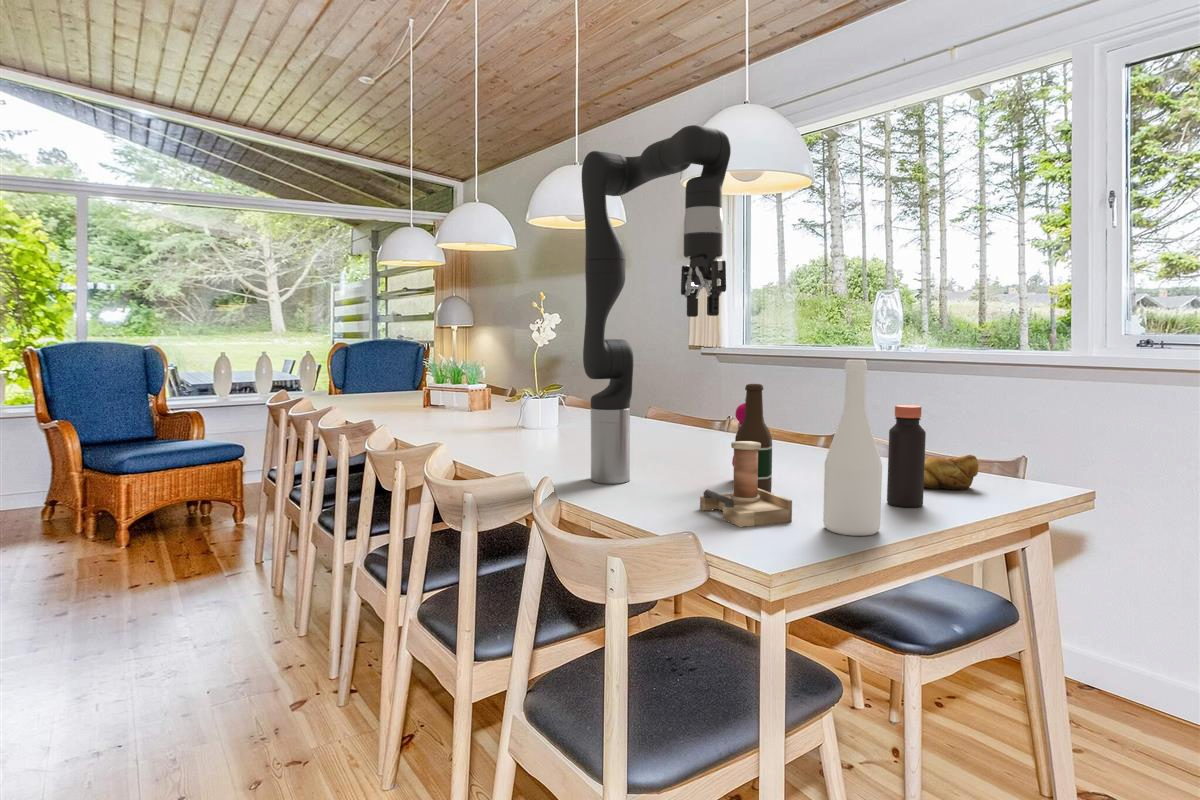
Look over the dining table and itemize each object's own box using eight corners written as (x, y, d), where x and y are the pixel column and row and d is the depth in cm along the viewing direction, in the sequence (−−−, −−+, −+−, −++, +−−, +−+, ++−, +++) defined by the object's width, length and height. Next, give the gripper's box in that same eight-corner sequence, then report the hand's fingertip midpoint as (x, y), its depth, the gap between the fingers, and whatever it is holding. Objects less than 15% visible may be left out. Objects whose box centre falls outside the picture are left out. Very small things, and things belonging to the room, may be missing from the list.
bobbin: (725, 497, 145) (725, 442, 144) (750, 495, 146) (750, 440, 145) (740, 503, 139) (741, 446, 138) (765, 501, 141) (766, 444, 140)
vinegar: (922, 509, 145) (926, 408, 143) (885, 506, 147) (889, 407, 146) (923, 502, 151) (926, 405, 149) (887, 499, 154) (891, 404, 152)
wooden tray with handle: (699, 508, 146) (700, 488, 145) (748, 504, 150) (748, 484, 149) (739, 527, 132) (740, 505, 131) (791, 521, 136) (792, 500, 135)
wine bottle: (869, 523, 135) (874, 359, 132) (887, 537, 125) (893, 361, 122) (817, 522, 135) (821, 359, 132) (831, 537, 125) (836, 361, 123)
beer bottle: (754, 502, 151) (755, 386, 149) (726, 496, 157) (727, 384, 155) (779, 497, 156) (781, 384, 153) (751, 491, 162) (752, 382, 160)
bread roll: (922, 491, 161) (923, 455, 161) (906, 482, 171) (907, 448, 170) (982, 492, 161) (983, 456, 160) (962, 483, 170) (964, 448, 170)
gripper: (738, 228, 138) (737, 315, 140) (702, 237, 152) (702, 317, 153) (703, 227, 136) (702, 315, 137) (669, 236, 149) (669, 316, 151)
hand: (702, 316), depth 145 cm, fingers open, 8 cm apart
